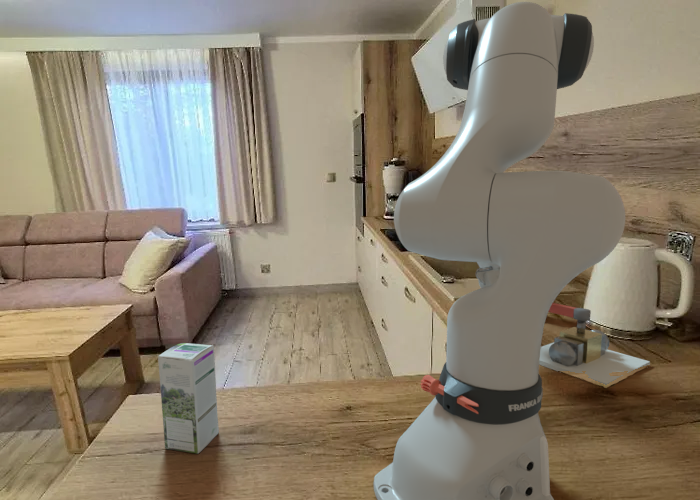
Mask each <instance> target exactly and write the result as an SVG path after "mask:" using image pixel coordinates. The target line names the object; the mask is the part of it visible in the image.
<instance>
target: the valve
mask: <svg viewBox="0 0 700 500" xmlns="http://www.w3.org/2000/svg"><path fill="white" fill-rule="evenodd" d="M586 322H587V321H581V320H576V326H573V327H570V328H567V329H563V330H561V331H559V336H556V337H554V339H553V340H554V341H553V343H554V344H552V345H551V346H550V348H549V356H550V358H551V360H552V361H553V362H556V363H559V364H562V365H565V366H570V365H576V366H578V365H581V364H582V362H583V363H589V362H591V361H593V360H596V359H598V358H600V356H602V355H604V354H605V351H606V350H607V349H608V350H609V346H610V339H609V337H608V335H607V334H606V333H605V332H603V331H602V330H599V329H591V330H589V329H586V324H587V323H586Z"/></svg>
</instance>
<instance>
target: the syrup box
mask: <svg viewBox="0 0 700 500" xmlns="http://www.w3.org/2000/svg"><path fill="white" fill-rule="evenodd" d="M215 357H216V356H215V347H214V345H213V344H212V345H211V344H203V343H201V344H200V343H187V342H181V343H178V344H176V345H174V346H171V347H170V348H168V349H167V350H165V351H164V352H162V353H161V354H159V355H157V361H158V362H157V363H158V372H159V385H160V386H159V387H160V388H159V389H160V399H161V410H162V423H163V435H164V436H163V439H164V448H165V450H170V451H171V450H172V451H178V452H183V453H184V452H186V453H190V454H197V455H198V454H199V453H201V452H202V451H203V450H204V449H205V448H206V447H207V446H208V445H209V444H210V443H211V442H212V441H213V440H214V438H216V437H217V435H218V434H219V433H220V432H219V431H220V429H219V419H218V418H219V416H218V400H217V382H216V381H217V380H216V362H215V361H216V359H215Z"/></svg>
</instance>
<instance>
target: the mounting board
mask: <svg viewBox="0 0 700 500" xmlns="http://www.w3.org/2000/svg"><path fill="white" fill-rule="evenodd" d="M552 344H554V342H550V343H548V344H545V345H541V349H540V359H539V366H543V367H545V368H547V369H550V370H554V371H556V372H558V371H570V372H575V373H583V372H582V371H586V372H585V374H587V375H588V376H589V377H588V378H591V379H593V380H595V381H598V382H600V383H603V384H605V385H607V384H609V383H610V382H612V381H614V380H616V379H617V378H619V377H621V376H623V375H621V376H610V375H609V373H612V372H624V371H628V372H627V373H629V372H631V371H633V370H635V369H638V368H640V367H643V366H647V365H650V366H651V361H650V360H646V359H642V358H640V357H635V356H632V355H629V354H625V353H622V352H621V353H620V352H618V351H614V350H611V349H609V348H608V349H607V350H606V351H605V354H604V355H602V356H600V358H598V359H596V360H593V361H591V362H589V363H583V362H582V364H581V365H578V366H576V365H570V366H565V365H562V364H559V363H556V362H553V361H552V360H551V358H550V356H549V348H550V346H551V345H552Z"/></svg>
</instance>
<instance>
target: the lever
mask: <svg viewBox="0 0 700 500" xmlns="http://www.w3.org/2000/svg"><path fill="white" fill-rule="evenodd" d="M548 313H551V314H555V315H561V316H564V317H568V318H572V319H574V320H576V321H577V320H581V321H586V322H588V321H591V313H592V311H591V310H590V309H588V308H583V307H574V306H570V305H565V304H560V303H556V302H553V303H552V305H551V307H550V309H549V311H548Z"/></svg>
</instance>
